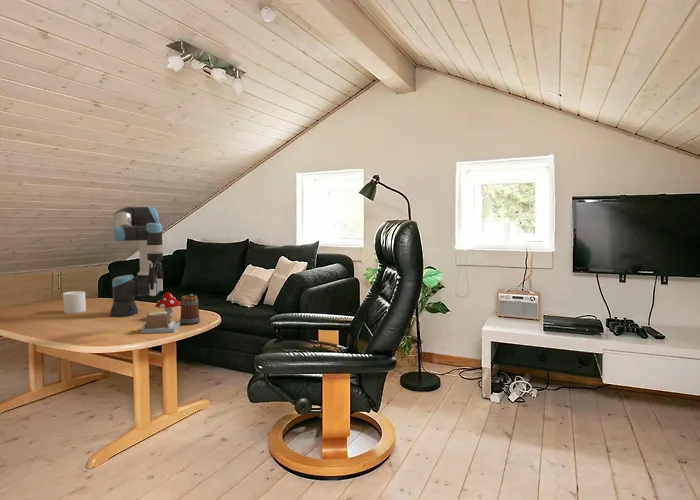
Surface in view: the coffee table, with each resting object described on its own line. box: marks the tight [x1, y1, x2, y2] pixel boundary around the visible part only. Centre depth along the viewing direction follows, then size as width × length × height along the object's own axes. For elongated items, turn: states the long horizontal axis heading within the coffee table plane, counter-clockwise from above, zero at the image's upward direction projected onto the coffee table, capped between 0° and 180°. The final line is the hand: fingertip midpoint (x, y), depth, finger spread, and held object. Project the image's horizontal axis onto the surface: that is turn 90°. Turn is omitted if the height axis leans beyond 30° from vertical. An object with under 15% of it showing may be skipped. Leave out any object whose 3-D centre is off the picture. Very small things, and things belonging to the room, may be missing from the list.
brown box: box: [145, 311, 171, 328], centre depth 239 cm, size 7×10×7 cm
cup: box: [62, 290, 87, 315], centre depth 284 cm, size 12×12×12 cm
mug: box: [179, 293, 201, 326], centre depth 257 cm, size 16×11×15 cm
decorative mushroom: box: [155, 291, 181, 319], centre depth 267 cm, size 14×14×15 cm
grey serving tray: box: [140, 320, 181, 335], centre depth 241 cm, size 15×16×4 cm
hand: (156, 293), depth 239 cm, fingers open, 13 cm apart
